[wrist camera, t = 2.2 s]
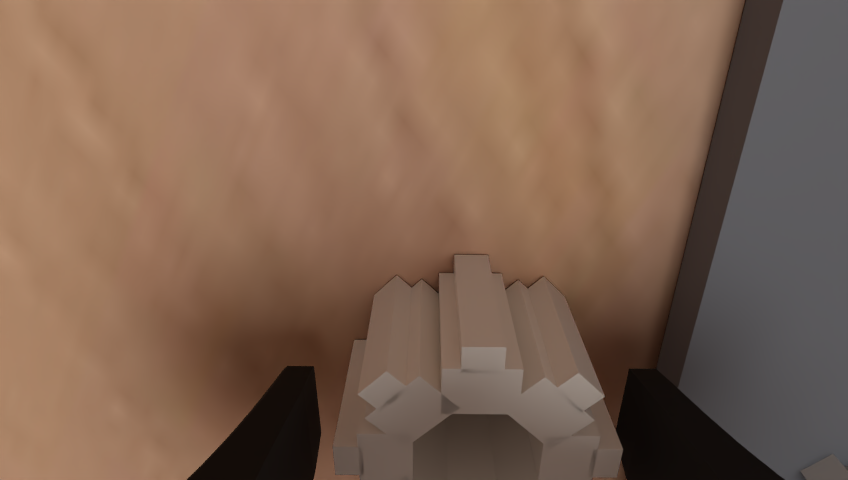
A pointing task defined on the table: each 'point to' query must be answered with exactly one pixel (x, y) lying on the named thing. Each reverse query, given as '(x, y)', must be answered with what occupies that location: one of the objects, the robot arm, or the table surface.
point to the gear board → (773, 247)
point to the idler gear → (473, 386)
